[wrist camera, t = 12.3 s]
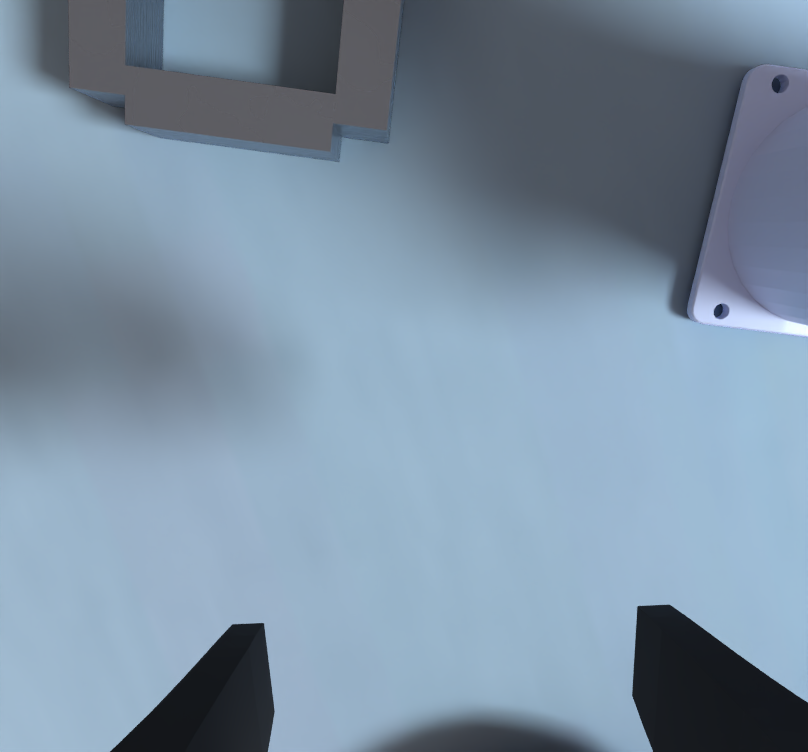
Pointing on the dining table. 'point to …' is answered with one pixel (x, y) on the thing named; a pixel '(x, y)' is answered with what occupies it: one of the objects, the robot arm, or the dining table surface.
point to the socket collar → (236, 83)
